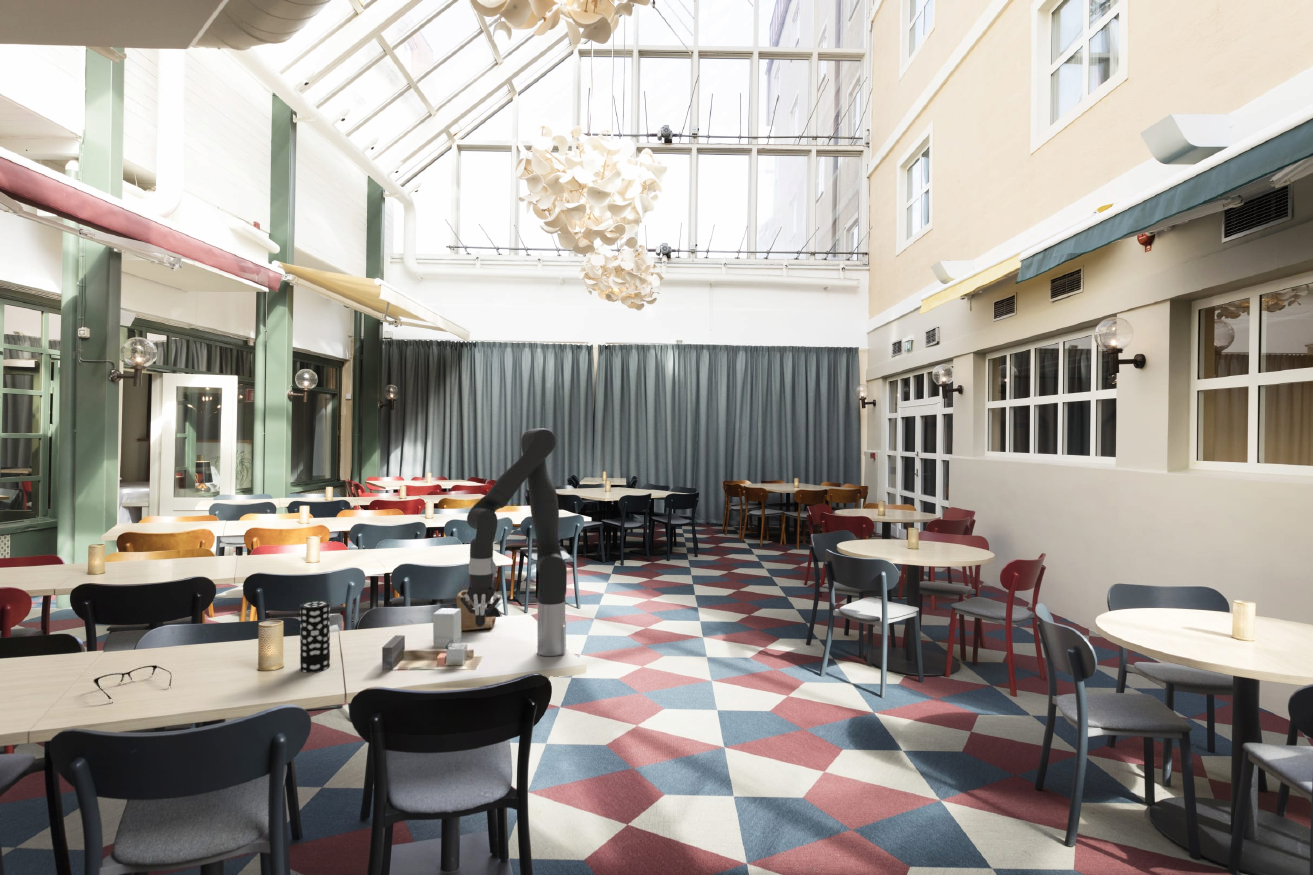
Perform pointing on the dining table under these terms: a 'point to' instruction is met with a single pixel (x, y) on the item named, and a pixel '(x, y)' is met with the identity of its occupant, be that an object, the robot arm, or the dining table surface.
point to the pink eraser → (441, 659)
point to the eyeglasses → (128, 675)
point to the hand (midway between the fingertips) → (480, 626)
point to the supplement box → (446, 626)
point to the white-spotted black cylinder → (314, 636)
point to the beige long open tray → (419, 658)
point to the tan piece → (471, 615)
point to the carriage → (456, 653)
